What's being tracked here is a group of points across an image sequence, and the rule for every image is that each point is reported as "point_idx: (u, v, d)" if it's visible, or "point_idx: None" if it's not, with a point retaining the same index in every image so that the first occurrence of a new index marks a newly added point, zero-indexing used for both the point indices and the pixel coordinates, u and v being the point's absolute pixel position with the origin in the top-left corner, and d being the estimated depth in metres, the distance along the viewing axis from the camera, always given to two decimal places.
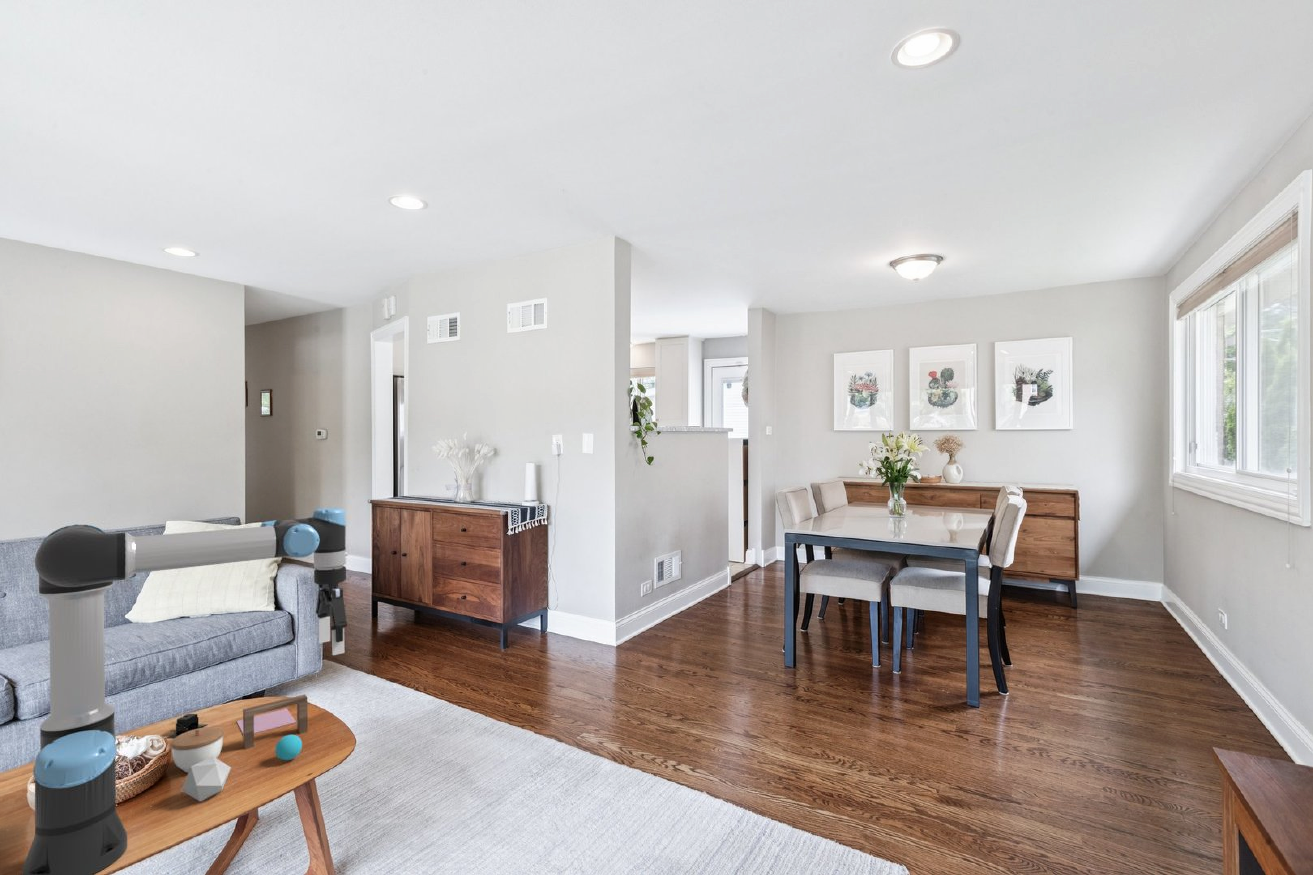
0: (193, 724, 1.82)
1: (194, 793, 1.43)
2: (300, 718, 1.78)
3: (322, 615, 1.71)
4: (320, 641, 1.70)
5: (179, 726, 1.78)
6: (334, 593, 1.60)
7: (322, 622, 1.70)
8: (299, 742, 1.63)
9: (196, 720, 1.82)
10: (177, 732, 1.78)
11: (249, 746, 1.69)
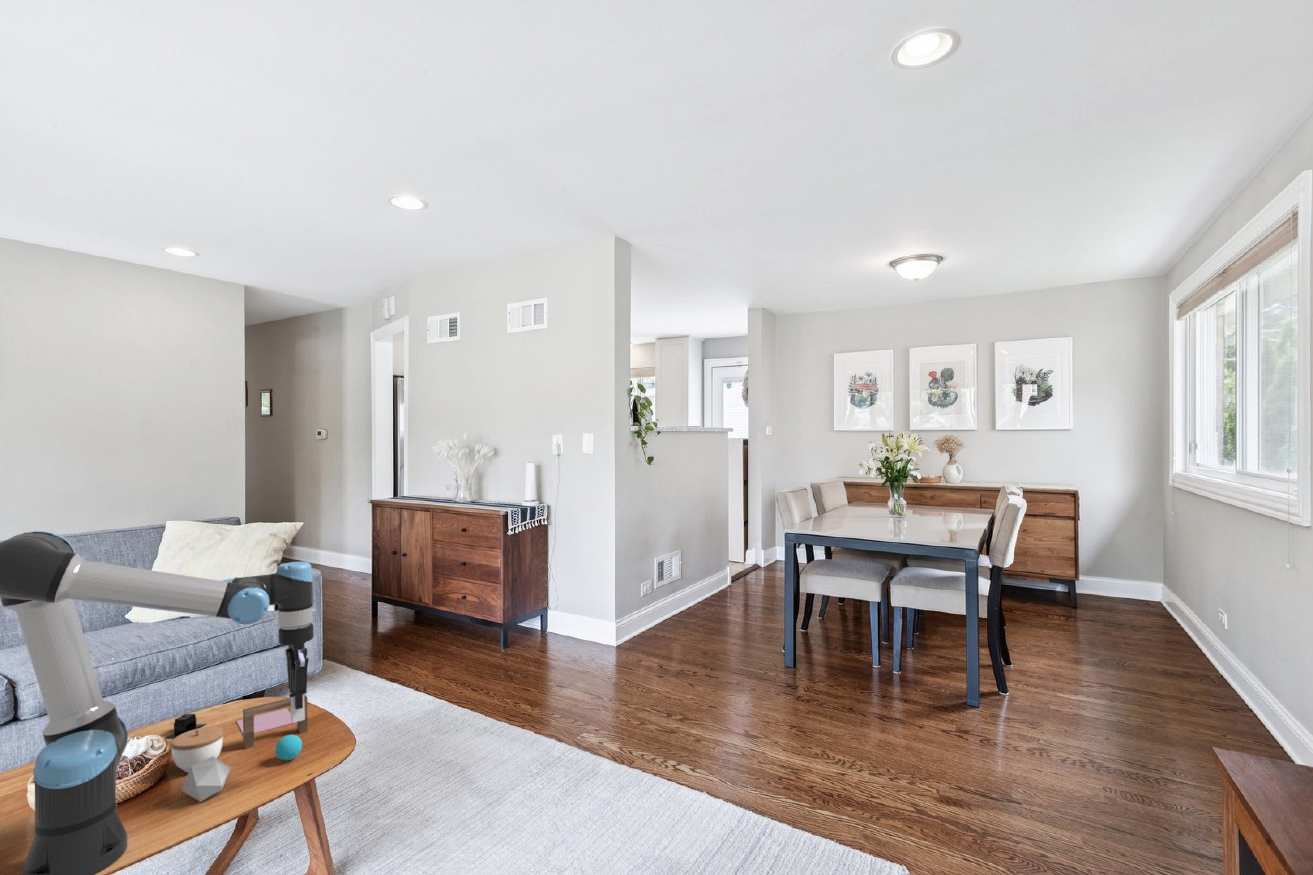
0: (191, 724, 1.82)
1: (194, 793, 1.43)
2: None
3: None
4: None
5: (177, 726, 1.78)
6: (298, 664, 1.51)
7: None
8: (299, 742, 1.63)
9: (194, 720, 1.82)
10: (175, 732, 1.78)
11: (249, 746, 1.69)
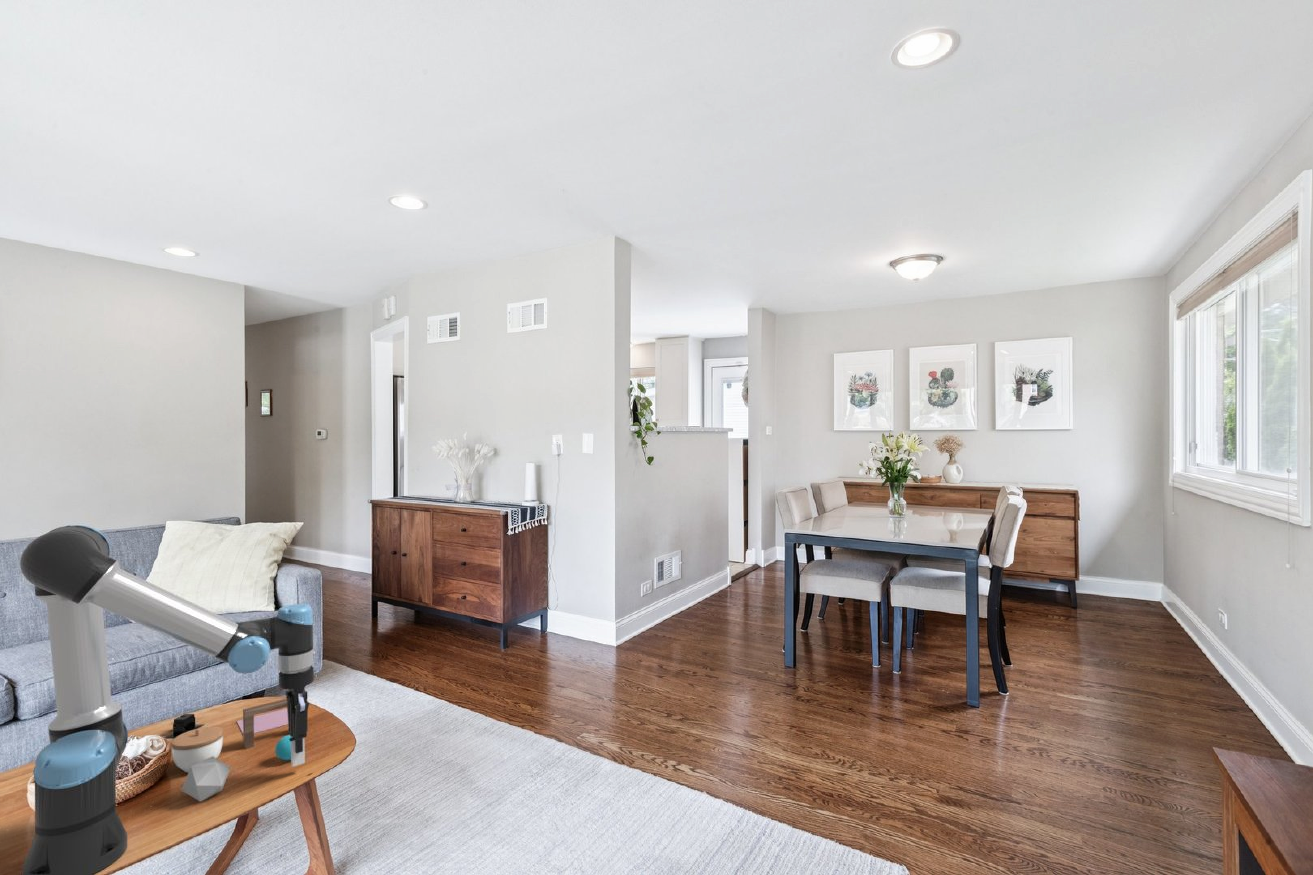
0: (190, 724, 1.82)
1: (194, 793, 1.43)
2: None
3: None
4: None
5: (176, 726, 1.78)
6: (299, 709, 1.51)
7: None
8: None
9: (193, 720, 1.82)
10: (174, 732, 1.78)
11: (249, 746, 1.69)
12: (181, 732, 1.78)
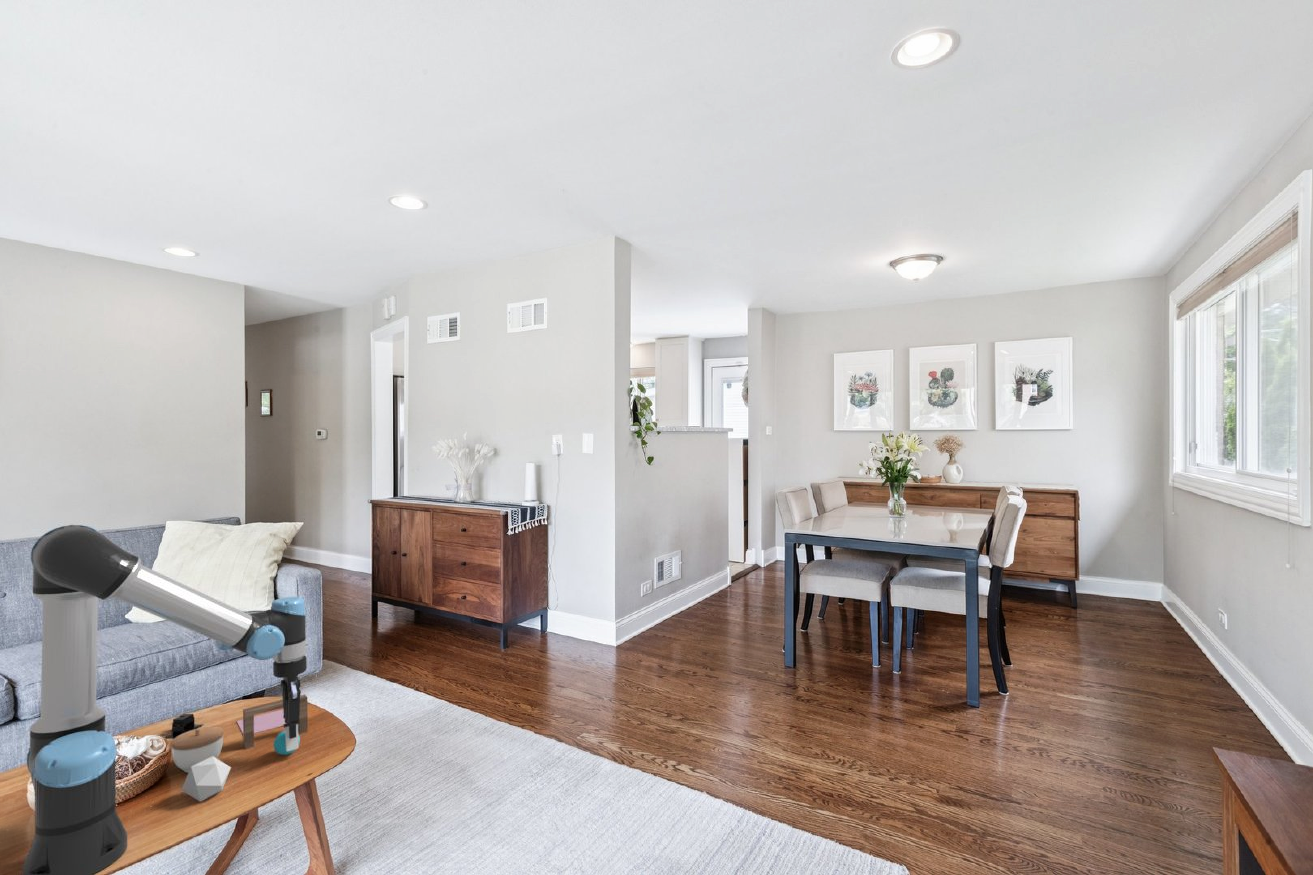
0: (189, 724, 1.82)
1: (194, 793, 1.43)
2: (300, 718, 1.78)
3: None
4: None
5: (175, 726, 1.78)
6: (291, 697, 1.58)
7: None
8: None
9: (192, 720, 1.82)
10: (173, 732, 1.78)
11: (249, 746, 1.69)
12: (180, 732, 1.78)
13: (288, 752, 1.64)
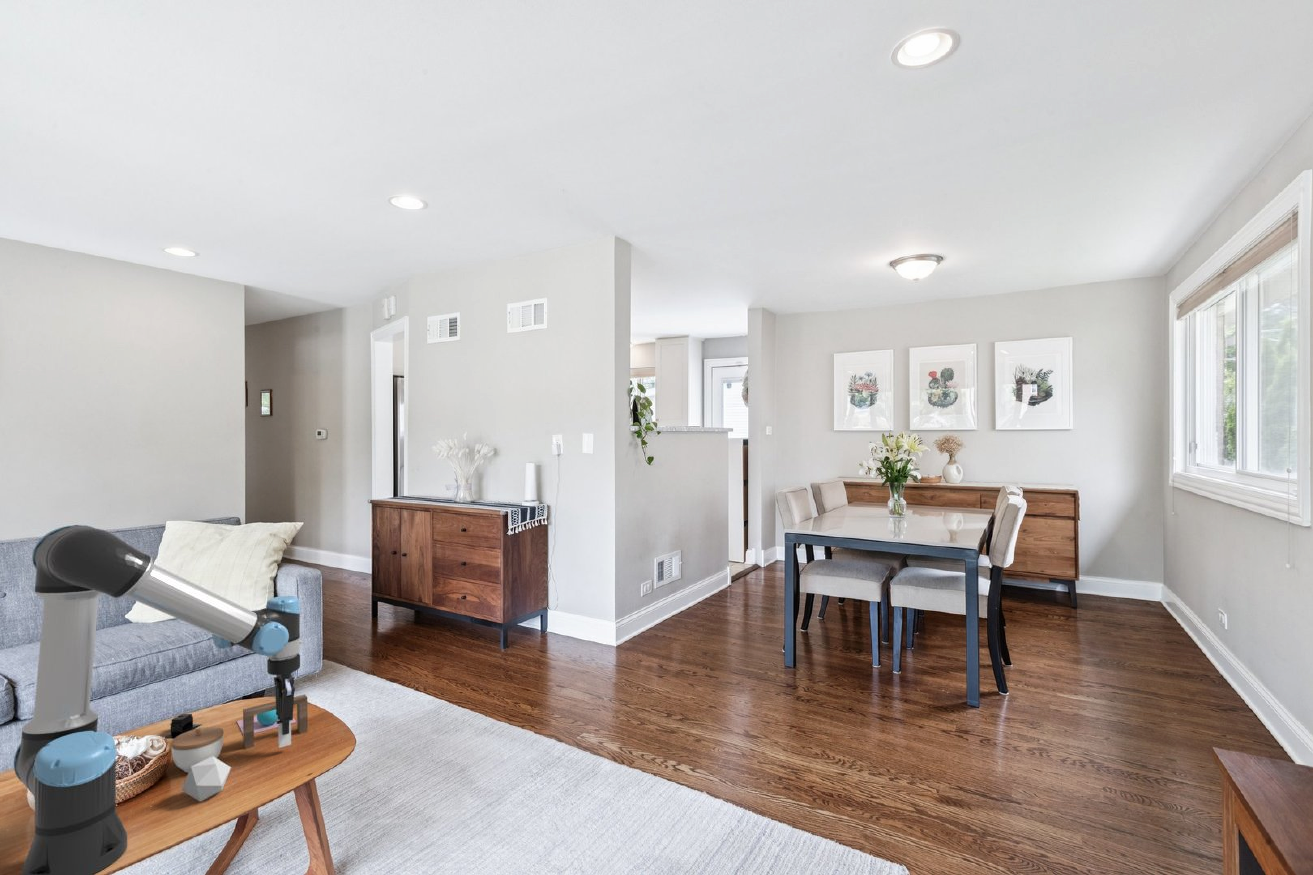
0: (187, 724, 1.82)
1: (194, 793, 1.43)
2: (300, 718, 1.78)
3: None
4: None
5: (174, 726, 1.78)
6: (285, 693, 1.62)
7: None
8: None
9: (191, 720, 1.82)
10: (172, 732, 1.78)
11: (249, 746, 1.69)
12: (179, 732, 1.78)
13: None
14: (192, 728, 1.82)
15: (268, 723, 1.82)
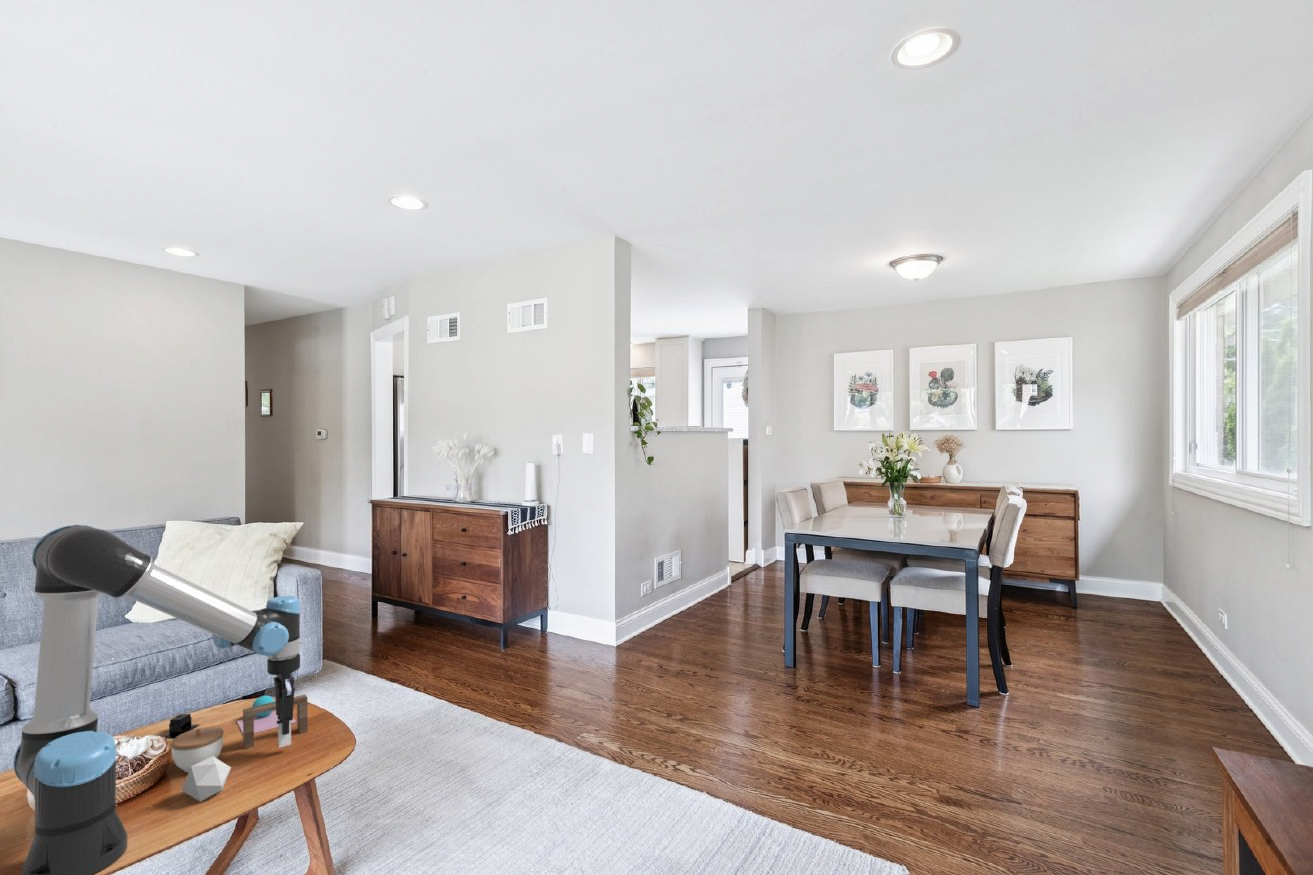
0: (186, 724, 1.82)
1: (194, 793, 1.43)
2: (300, 718, 1.78)
3: None
4: None
5: (173, 726, 1.78)
6: (285, 693, 1.62)
7: None
8: None
9: (189, 720, 1.82)
10: (171, 732, 1.78)
11: (249, 746, 1.69)
12: (178, 732, 1.78)
13: None
14: (191, 728, 1.82)
15: None
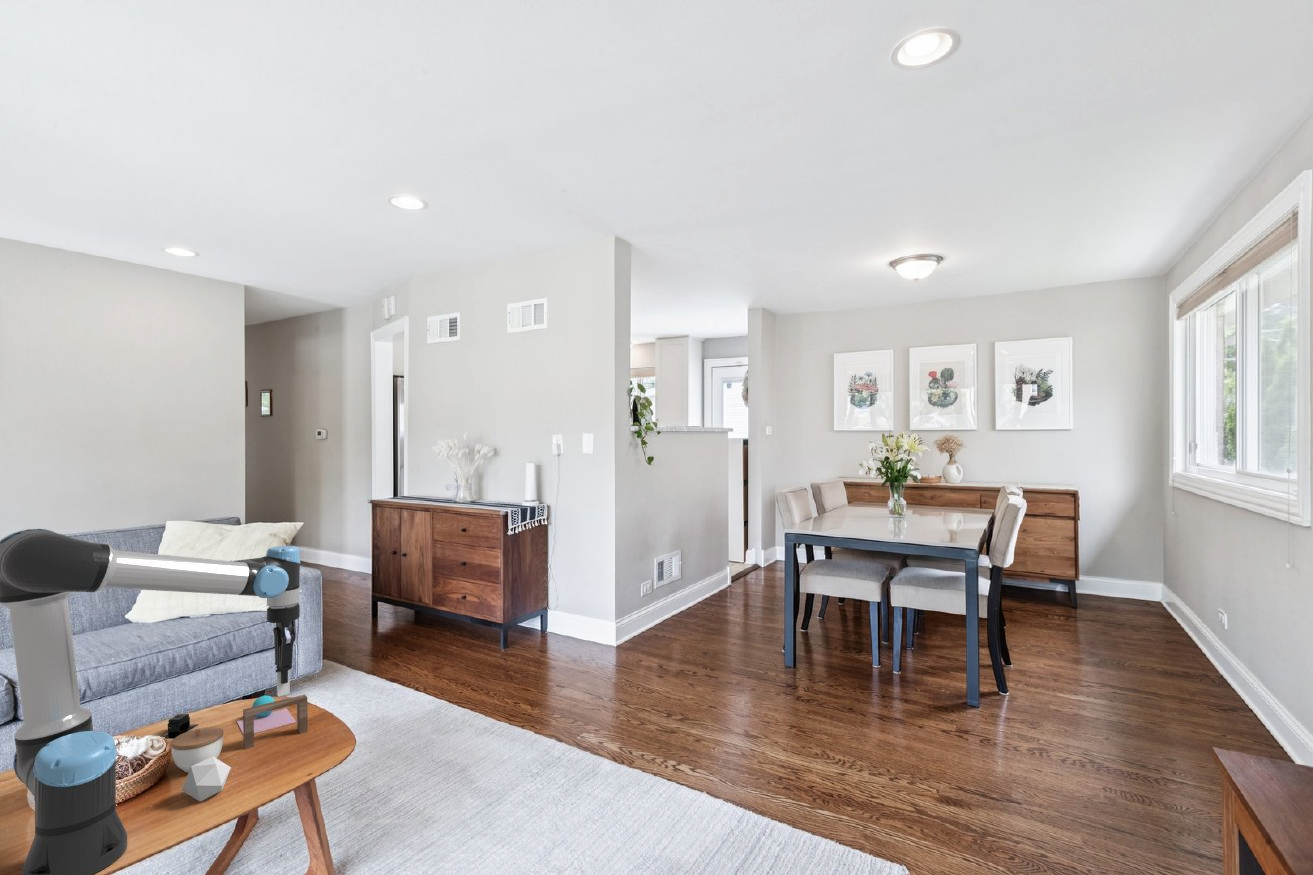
0: (184, 724, 1.82)
1: (194, 793, 1.43)
2: (300, 718, 1.78)
3: None
4: None
5: (171, 726, 1.78)
6: (285, 641, 1.62)
7: None
8: None
9: (188, 720, 1.82)
10: (169, 732, 1.78)
11: (249, 746, 1.69)
12: (176, 732, 1.78)
13: None
14: (189, 728, 1.82)
15: None
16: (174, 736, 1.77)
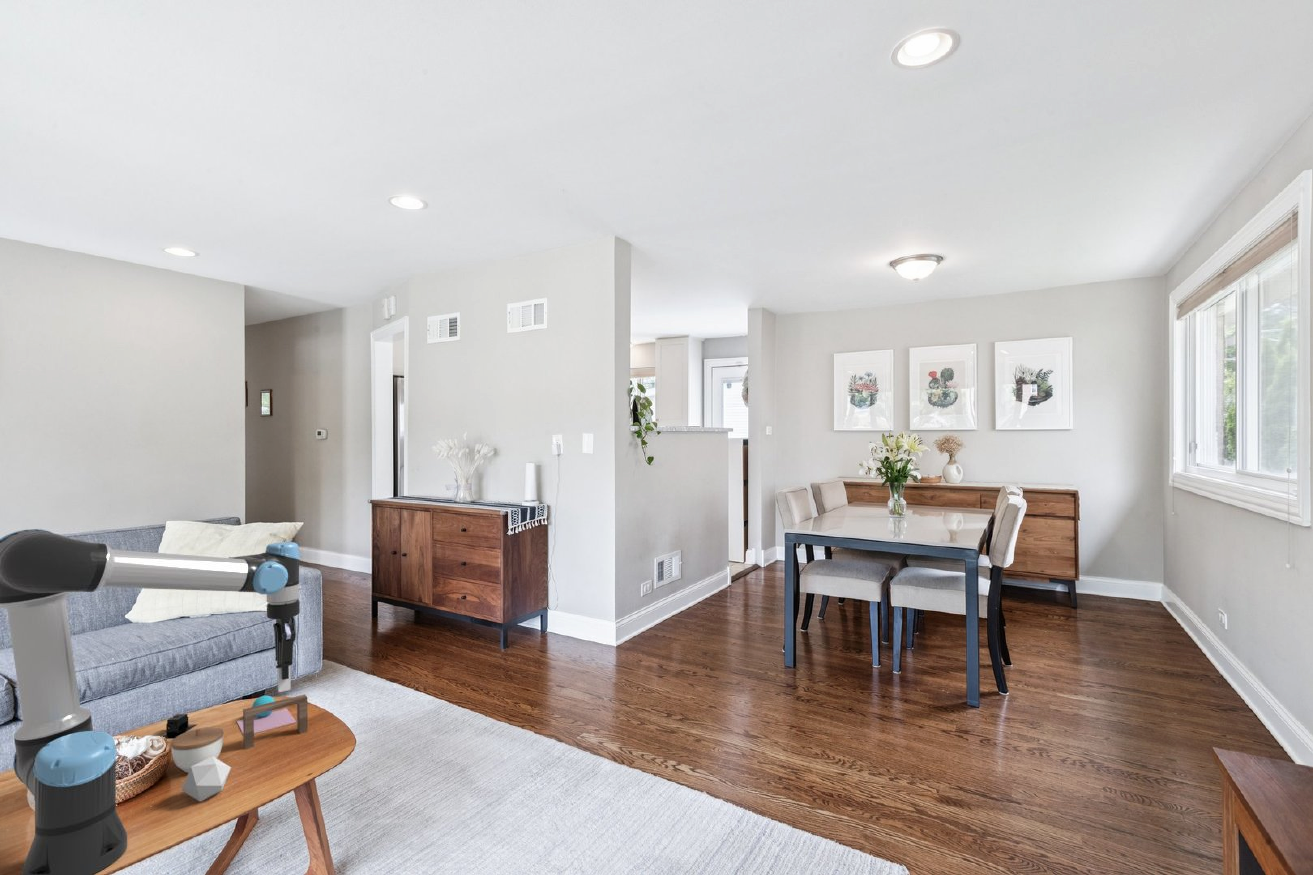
0: (183, 724, 1.82)
1: (194, 793, 1.43)
2: (300, 718, 1.78)
3: None
4: None
5: (170, 726, 1.78)
6: (285, 637, 1.62)
7: (281, 670, 1.66)
8: None
9: (186, 720, 1.82)
10: (168, 732, 1.78)
11: (249, 746, 1.69)
12: (175, 732, 1.78)
13: None
14: (188, 728, 1.82)
15: None
16: (173, 736, 1.77)
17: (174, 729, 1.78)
